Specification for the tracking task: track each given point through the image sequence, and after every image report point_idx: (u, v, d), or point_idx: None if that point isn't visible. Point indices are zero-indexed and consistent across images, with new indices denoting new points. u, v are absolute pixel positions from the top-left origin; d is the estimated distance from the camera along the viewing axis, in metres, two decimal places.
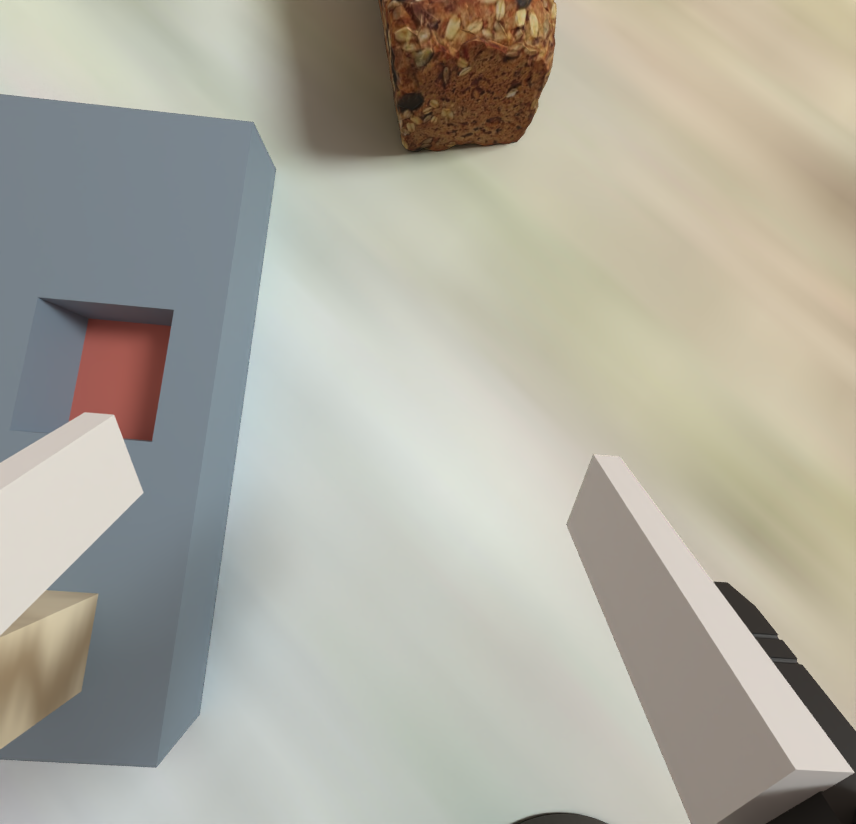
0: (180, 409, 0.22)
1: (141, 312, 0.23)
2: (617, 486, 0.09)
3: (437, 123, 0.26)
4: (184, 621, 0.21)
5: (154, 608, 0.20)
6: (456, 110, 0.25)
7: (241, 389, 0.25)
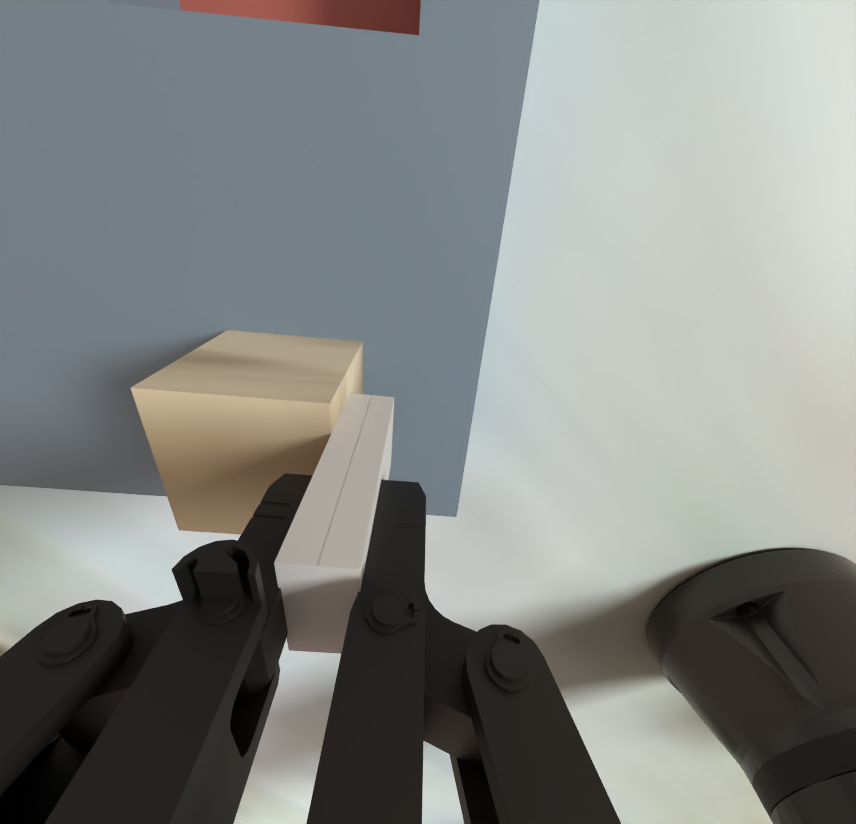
0: None
1: None
2: (368, 415, 0.11)
3: None
4: None
5: (445, 363, 0.14)
6: None
7: None
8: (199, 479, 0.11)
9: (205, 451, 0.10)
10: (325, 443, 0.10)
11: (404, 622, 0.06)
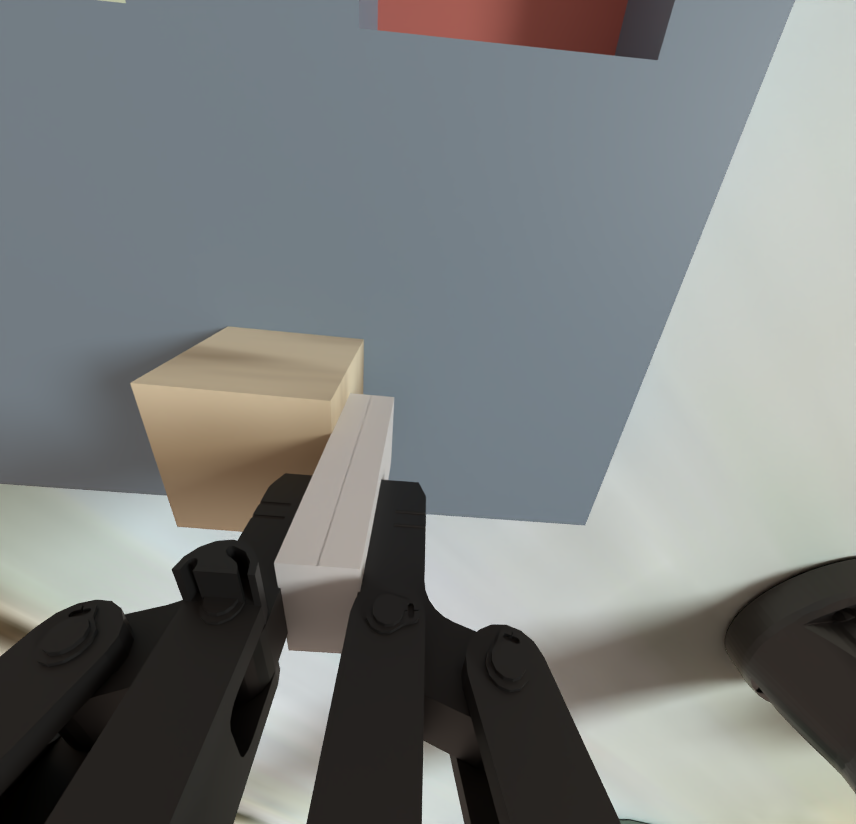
0: None
1: None
2: (368, 415, 0.11)
3: None
4: None
5: (609, 376, 0.14)
6: None
7: None
8: (198, 475, 0.11)
9: (205, 447, 0.10)
10: (325, 440, 0.10)
11: (404, 622, 0.06)
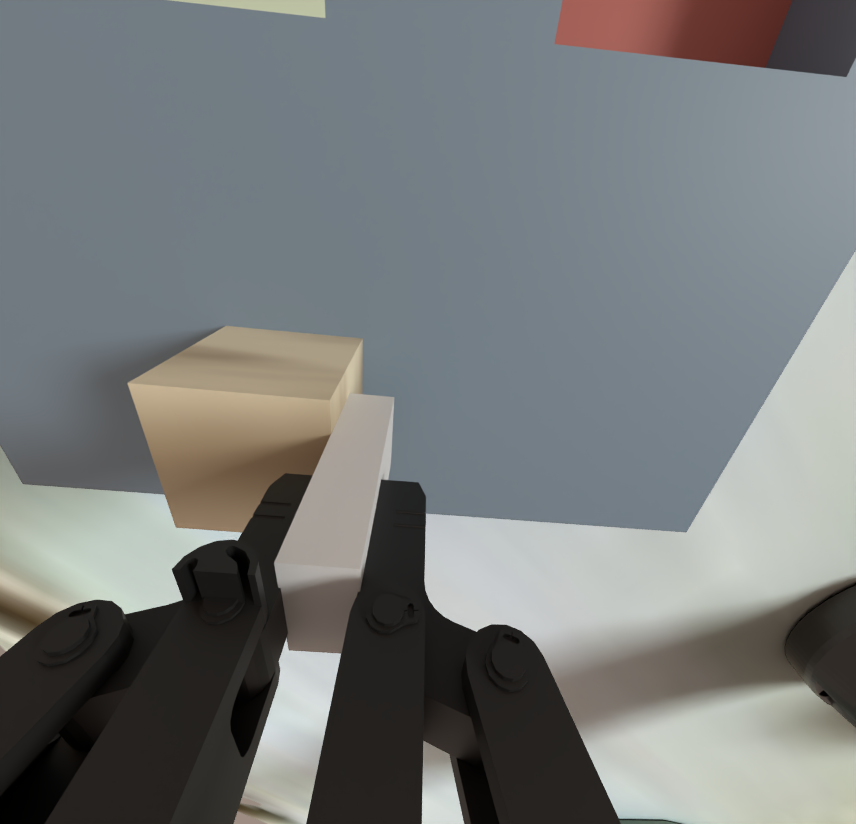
0: None
1: None
2: (368, 415, 0.11)
3: None
4: None
5: (738, 386, 0.14)
6: None
7: None
8: (196, 476, 0.11)
9: (203, 447, 0.10)
10: (325, 440, 0.10)
11: (404, 622, 0.06)
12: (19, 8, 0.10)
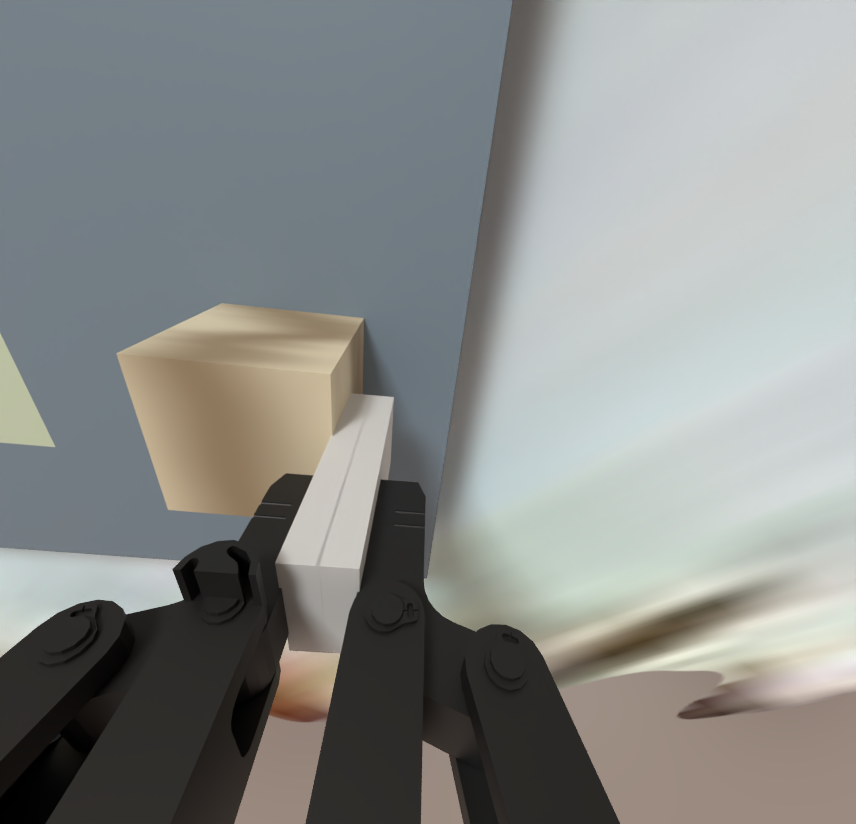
0: None
1: None
2: (367, 415, 0.11)
3: None
4: None
5: None
6: None
7: None
8: (259, 490, 0.11)
9: (220, 476, 0.10)
10: (170, 365, 0.09)
11: (403, 622, 0.06)
12: (65, 445, 0.16)
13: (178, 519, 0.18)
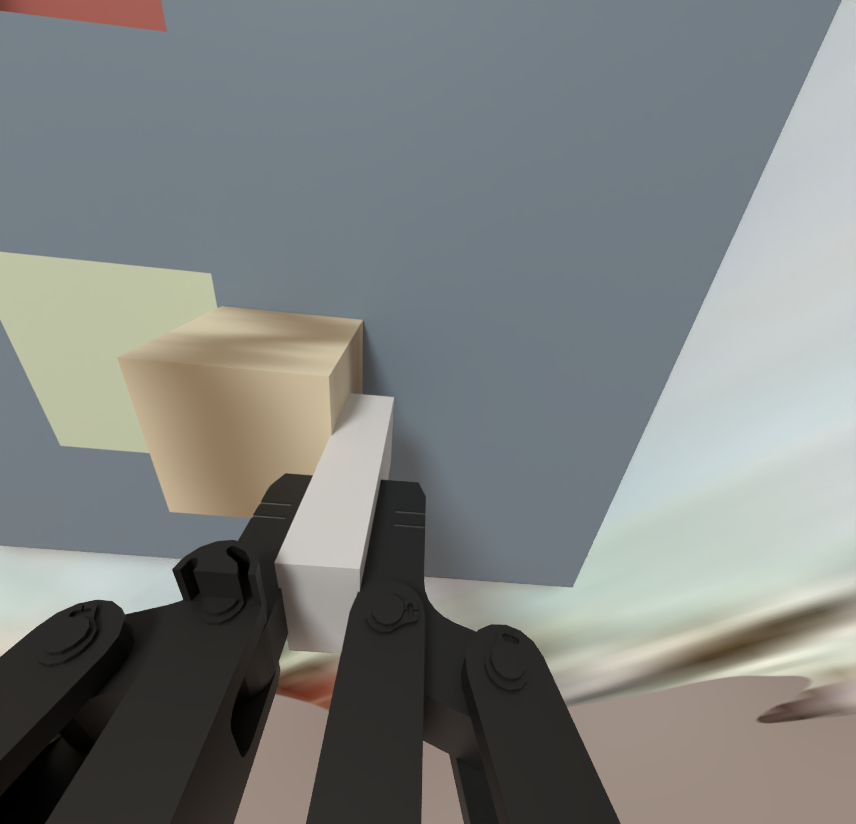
0: None
1: None
2: (367, 415, 0.11)
3: None
4: None
5: None
6: None
7: None
8: (259, 491, 0.11)
9: (220, 478, 0.11)
10: (170, 368, 0.09)
11: (404, 622, 0.06)
12: None
13: None
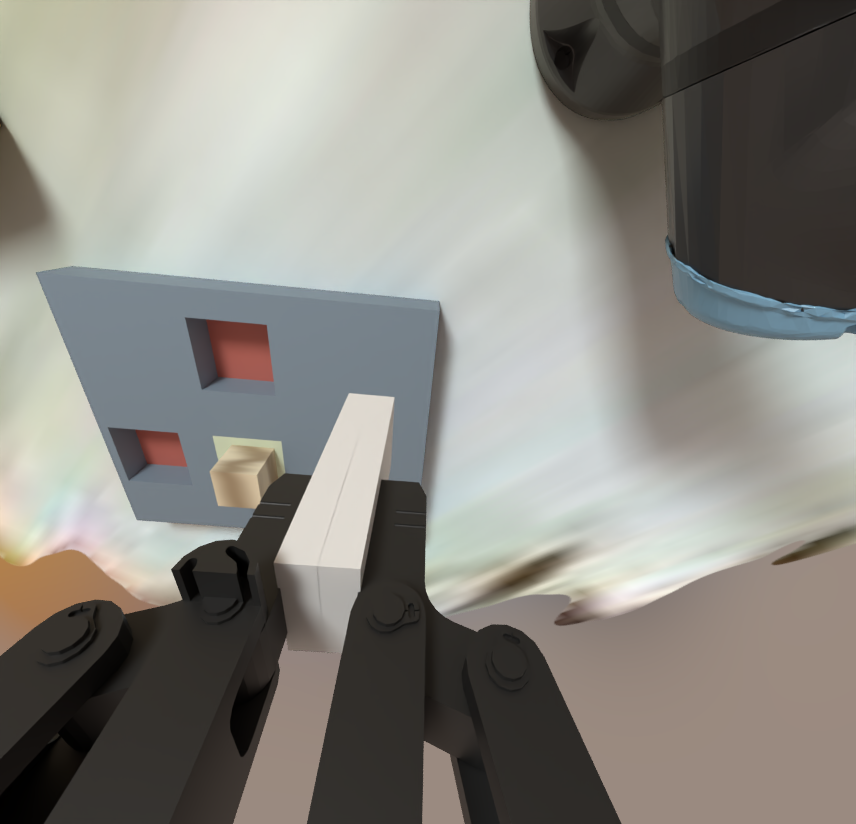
0: (244, 309, 0.36)
1: (196, 340, 0.39)
2: (368, 415, 0.11)
3: None
4: (367, 302, 0.36)
5: (358, 317, 0.36)
6: None
7: (237, 283, 0.38)
8: (241, 500, 0.42)
9: (232, 497, 0.41)
10: (221, 473, 0.40)
11: (404, 622, 0.06)
12: None
13: None
